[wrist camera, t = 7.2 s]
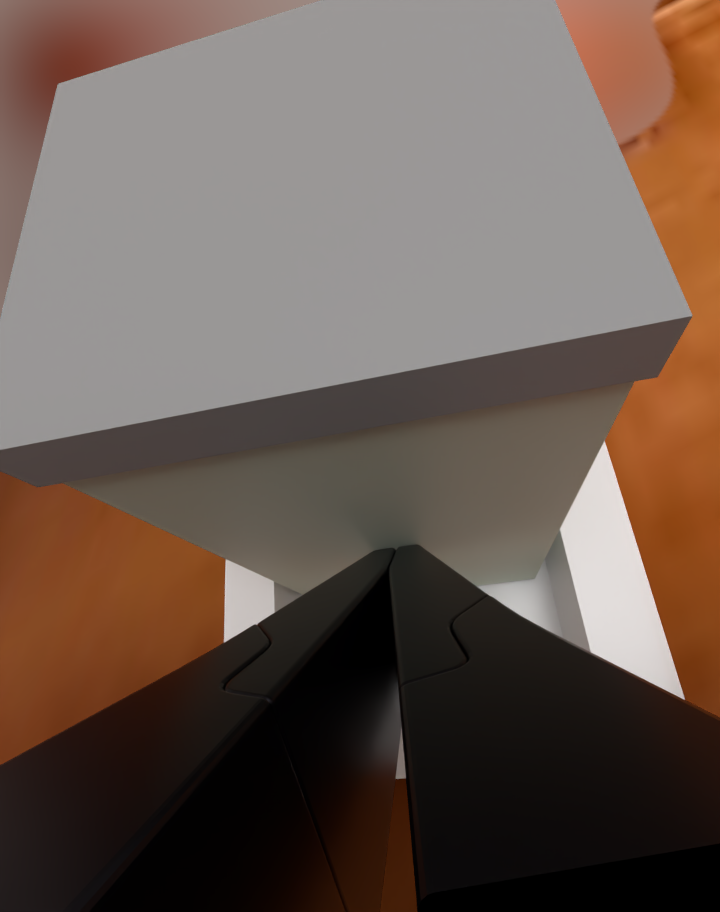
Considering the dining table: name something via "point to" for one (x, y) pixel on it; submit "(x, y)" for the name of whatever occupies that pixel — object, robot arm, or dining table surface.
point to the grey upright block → (336, 289)
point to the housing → (545, 589)
